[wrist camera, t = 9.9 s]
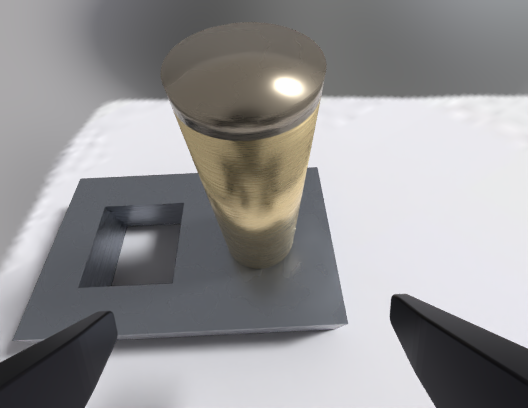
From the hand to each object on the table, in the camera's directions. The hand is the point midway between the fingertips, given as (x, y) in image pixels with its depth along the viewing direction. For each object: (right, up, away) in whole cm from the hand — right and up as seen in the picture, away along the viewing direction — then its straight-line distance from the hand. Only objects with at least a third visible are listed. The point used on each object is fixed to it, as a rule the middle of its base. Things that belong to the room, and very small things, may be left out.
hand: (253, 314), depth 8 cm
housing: (-5, -1, +13) cm, 14 cm away
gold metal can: (0, +1, +10) cm, 10 cm away
